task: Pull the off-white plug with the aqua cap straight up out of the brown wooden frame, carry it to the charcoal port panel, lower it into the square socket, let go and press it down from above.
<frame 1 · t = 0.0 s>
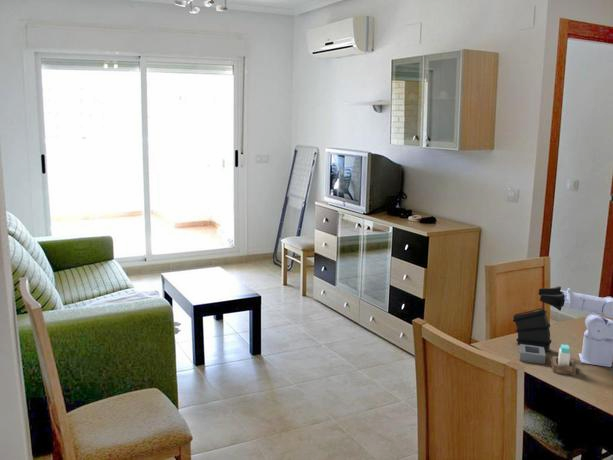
hand: (539, 294, 200), 22 cm above the table, tool horizontal, fingers open, 7 cm apart
port panel: (531, 357, 200), on the table
plug: (562, 369, 192), resting in brown wooden frame
brown wooden frame: (562, 368, 192), on the table
black piece: (530, 346, 211), on the table
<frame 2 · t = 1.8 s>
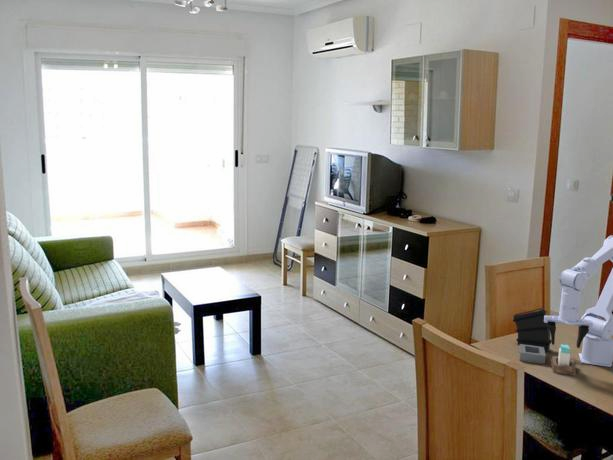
hand: (565, 345, 190), 8 cm above the table, tool pointing down, fingers open, 7 cm apart
nothing on the table moved.
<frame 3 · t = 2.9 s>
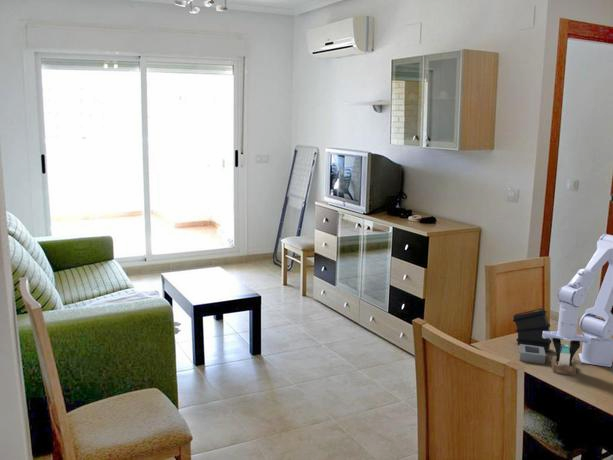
hand: (563, 360, 191), 3 cm above the table, tool pointing down, fingers closed on plug, 3 cm apart
plug: (562, 369, 192), resting in brown wooden frame, touching gripper
everything else where it was.
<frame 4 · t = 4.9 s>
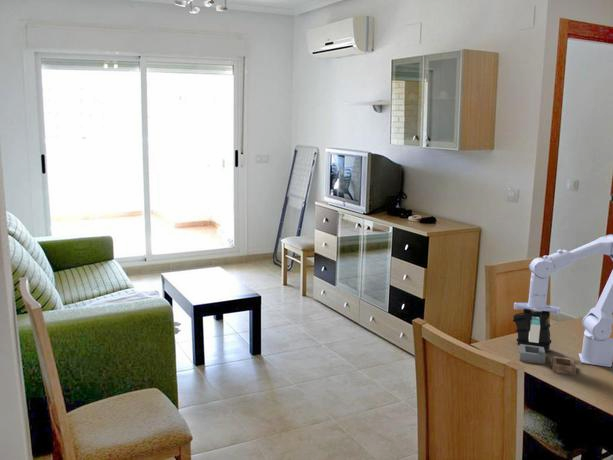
hand: (534, 331, 198), 10 cm above the table, tool pointing down, fingers closed on plug, 3 cm apart
plug: (533, 340, 199), point 7 cm above the table, touching gripper
everything else where it was.
when the fingers open (4 cm above the table, at t = 6.7 s): plug stays where it is, resting in port panel.
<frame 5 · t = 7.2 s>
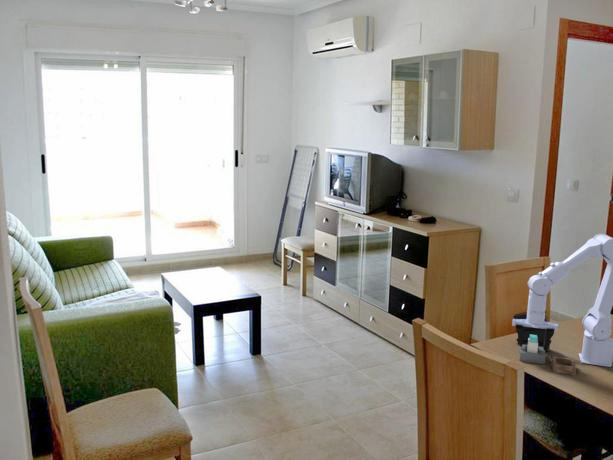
hand: (532, 347, 200), 4 cm above the table, tool pointing down, fingers open, 7 cm apart
plug: (531, 358, 200), resting in port panel
everything else where it was.
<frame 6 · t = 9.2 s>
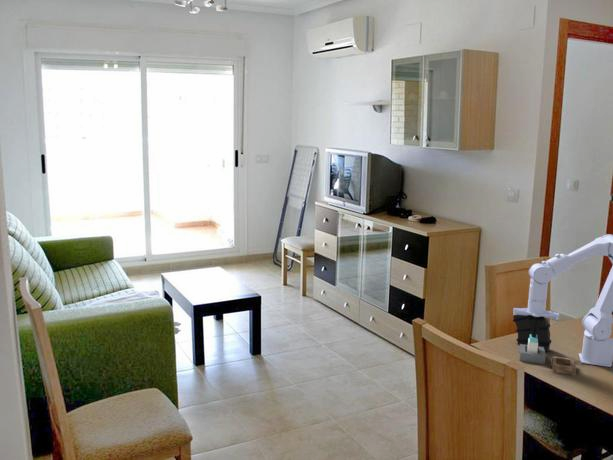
hand: (533, 336, 199), 8 cm above the table, tool pointing down, fingers closed, pressing on plug
plug: (531, 358, 200), resting in port panel, touching gripper
everything else where it was.
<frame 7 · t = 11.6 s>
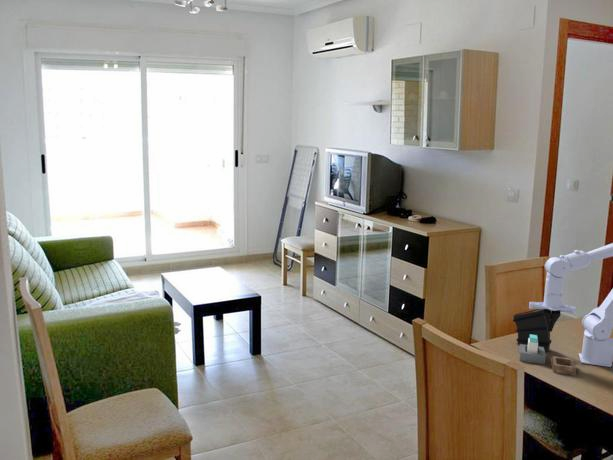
hand: (549, 330, 198), 10 cm above the table, tool pointing down, fingers closed
plug: (531, 358, 200), resting in port panel
everything else where it was.
at the end: plug 0.1 cm off-centre on the port panel, point 0.0 cm above the port panel's base; plug tilted 0°; the gripper is holding nothing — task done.
